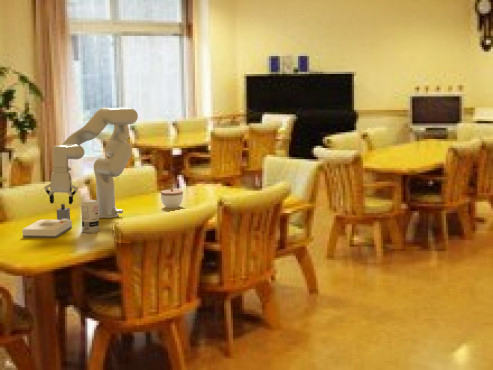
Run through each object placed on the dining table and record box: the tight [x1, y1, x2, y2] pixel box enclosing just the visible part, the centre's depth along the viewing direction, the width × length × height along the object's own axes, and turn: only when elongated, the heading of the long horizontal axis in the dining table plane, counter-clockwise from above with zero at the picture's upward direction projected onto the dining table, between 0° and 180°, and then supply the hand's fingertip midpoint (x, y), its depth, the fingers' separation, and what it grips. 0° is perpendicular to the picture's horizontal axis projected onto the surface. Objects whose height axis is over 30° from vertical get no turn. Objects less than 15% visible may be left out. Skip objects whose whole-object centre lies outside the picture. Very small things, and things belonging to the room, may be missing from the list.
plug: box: [56, 203, 71, 220], centre depth 367 cm, size 5×5×10 cm
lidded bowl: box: [160, 187, 184, 209], centre depth 411 cm, size 13×13×11 cm
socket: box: [21, 219, 73, 239], centre depth 349 cm, size 16×22×5 cm
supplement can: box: [80, 199, 100, 234], centre depth 350 cm, size 8×8×15 cm
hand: (61, 203), depth 366 cm, fingers open, 9 cm apart
